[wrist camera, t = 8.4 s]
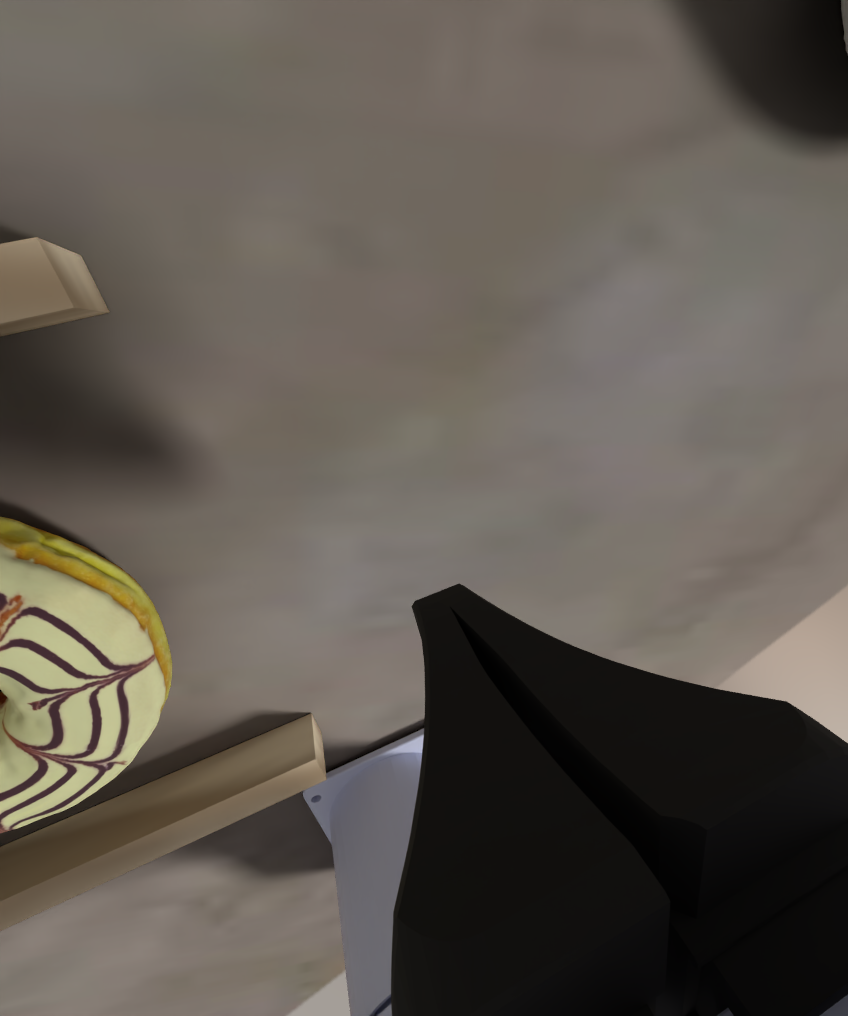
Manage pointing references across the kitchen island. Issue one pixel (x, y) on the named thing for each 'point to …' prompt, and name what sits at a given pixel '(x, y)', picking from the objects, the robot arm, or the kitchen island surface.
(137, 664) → the decorated donut
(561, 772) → the robot arm
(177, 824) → the wooden bar frame
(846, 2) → the cereal bowl
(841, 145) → the kitchen island surface
